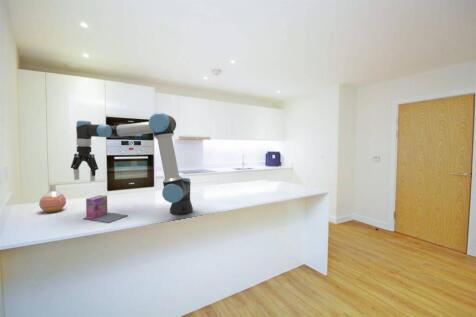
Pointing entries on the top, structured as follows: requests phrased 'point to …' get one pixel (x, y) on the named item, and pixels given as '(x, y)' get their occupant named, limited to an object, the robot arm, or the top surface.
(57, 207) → the vase
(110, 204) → the top surface
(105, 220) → the mat
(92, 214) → the box
